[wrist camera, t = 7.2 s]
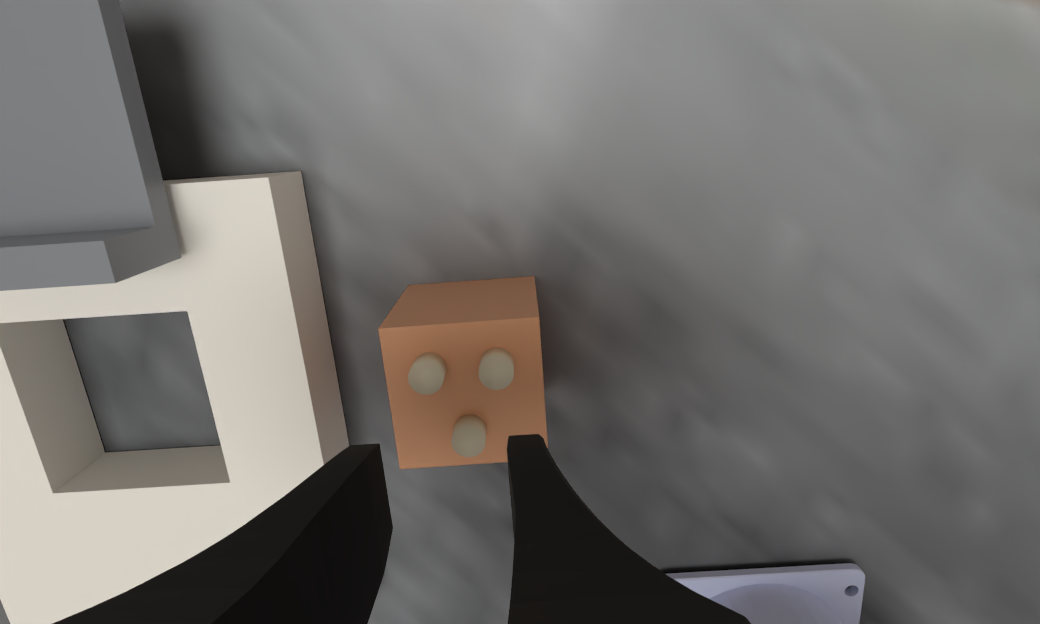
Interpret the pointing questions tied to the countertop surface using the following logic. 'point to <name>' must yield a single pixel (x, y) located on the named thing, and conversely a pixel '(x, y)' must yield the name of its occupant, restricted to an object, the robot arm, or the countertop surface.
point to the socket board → (231, 388)
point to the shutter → (75, 151)
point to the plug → (463, 370)
